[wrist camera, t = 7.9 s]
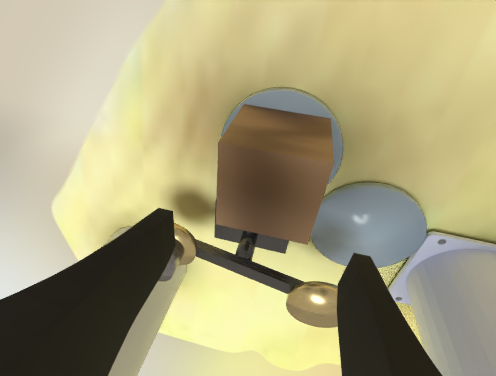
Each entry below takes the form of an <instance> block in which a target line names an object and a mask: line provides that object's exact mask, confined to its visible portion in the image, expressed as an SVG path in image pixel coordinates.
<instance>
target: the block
mask: <svg viewBox="0 0 496 376" xmlns="http://www.w3.org/2000/svg"><path fill="white" fill-rule="evenodd" d="M333 166H334V155H333V141H332V127H331V118H325V117H319V116H313V115H307V114H301V113H295V112H289V111H283V110H277V109H271V108H265V107H259V106H253V105H248V104H243V106H242V107H241V109H240V110H239V112H238V113H237V115H236V116H235V118H234V119H233V121H232V122H231V124H230V125H229V127H228V129H227V130H226V132H225V133H224V135H223V136H222V138H221V139H220V141H219V142H218V174H217V206H216V224H217V225H222V226H226V227H231V228H235V229H240V230H244V231H249V232H253V233H258V234H262V235H267V236H271V237H276V238H280V239H285V240H289V241H294V242H298V243H303V244H307V245H308V242H309V239H310V236H311V233H312V230H313V227H314V224H315V220H316V217H317V214H318V211H319V208H320V205H321V202H322V199H323V196H324V193H325V190H326V187H327V184H328V181H329V178H330V175H331V172H332V169H333Z"/></svg>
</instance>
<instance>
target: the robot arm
mask: <svg viewBox="0 0 496 376" xmlns="http://www.w3.org/2000/svg"><path fill="white" fill-rule="evenodd" d="M441 239H443V240H441ZM439 240H440V241H439ZM175 246H176V243H175V231H174V220H173V211H170V210H165V209H161V208H158V209H156V210H155V211H154V212H152V213H151V214H149V215H148V216H146V217H145V218H144V219H142V220H141V221H140V222H138V223H137V224H135V225H134V226H133V227H131V228H130V229H128V230H127V231H125V232H124V233H123V234H121V235H120V236H118V237H117V238H115V239H114V240H112V241H111V242H109V243H108V244H106V245H105V246H103V247H101V248H100V249H98V250H97V251H95V252H93V253H92V254H90V255H89V256H87V257H85V258H84V259H82V260H80V261H79V262H77V263H75V264H73V265H72V266H70V267H68V268H66V269H64V270H63V271H61V272H59V273H57V274H55V275H53V276H51V277H49V278H47V279H45V280H43V281H41V282H38V283H36V284H34V285H32V286H30V287H28V288H26V289H24V290H21V291H20V292H17V293H15V294H13V295H11V296H8V297H6V298H4V299H1V300H0V376H108V375H109V373H110V370H111V368H112V366H113V364H114V362H115V359H116V357H117V355H118V353H119V351H120V349H121V347H122V345H123V342H124V340H125V338H126V336H127V334H128V332H129V330H130V328H131V326H132V324H133V322H134V321H135V319H136V317H137V315H138V314H139V312H140V310H141V309H142V307H143V305H144V304H145V302H146V300H147V299H148V297H149V295H150V294H151V292H152V290H153V289H154V287H155V285H156V284H157V282H158V280H159V279H160V277H161V275H162V273H163V272H164V270H165V268H166V266H167V264H168V262H169V260H170V258H171V255H172V253H173V251H174V248H175ZM395 302H399V303H404V304H408V305H411V306H412V309H413V313H414V317H415V320H416V324H417V327H418V331H419V334H420V338H421V341H422V345H423V347H422V345H421V344H420V342H419V341H418V339H417V338H416V336H415V334H414V333H413V331H412V330H411V328H410V326H409V325H408V323H407V322H406V320H405V318H404V316H403V315H402V313H401V311H400V310H399V308H398V306H397V304H396V303H395ZM337 321H338V333H339V345H340V357H341V368H342V376H496V244H493V243H488V242H483V241H478V240H473V239H469V238H464V237H459V236H454V235H450V234H445V233H440V232H429V233H427V234H426V236H425V239H424V241H423V243H422V244H421V246H420V247H419V248H418V249H417V250H416V251H415V252H414V253H413V254H412V255H411V256H410V258H409V259H408V261H407V262H406V263H405V265H404V266H403V268H402V269H401V271H400V272H399V273H398V275H397V276H396V278H395V279H394V281H393V282H392V284H391V285H390V286H389V288H387V286H386V285H385V283H384V281H383V279H382V277H381V275H380V273H379V271H378V269H377V267H376V265H375V264H374V262H373V260H372V258H371V256H367V255H362V254H358V253H353V255H352V257H351V259H350V261H349V263H348V265H347V267H346V269H345V271H344V273H343V275H342V277H341V279H340V281H339V283H338V290H337Z"/></svg>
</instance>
